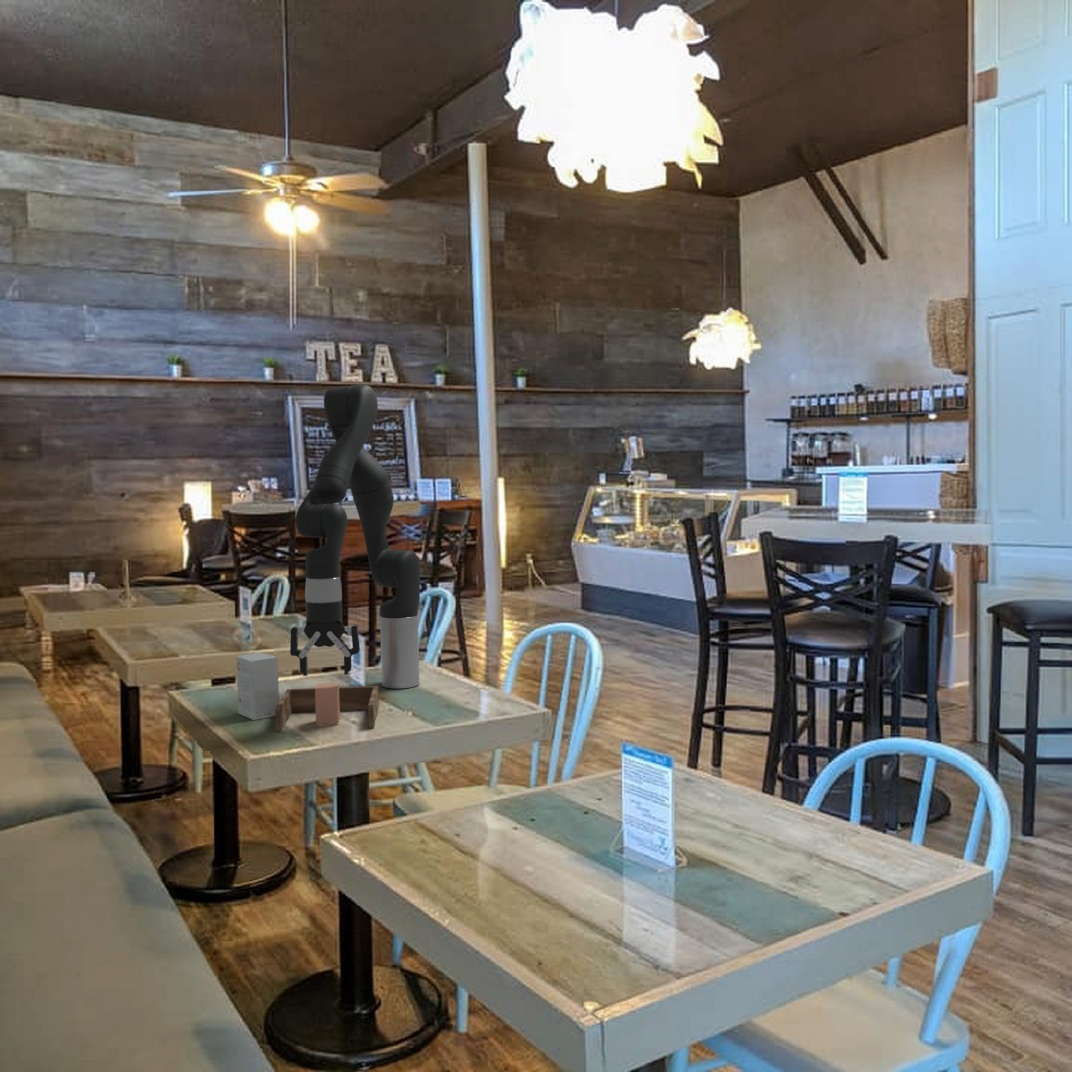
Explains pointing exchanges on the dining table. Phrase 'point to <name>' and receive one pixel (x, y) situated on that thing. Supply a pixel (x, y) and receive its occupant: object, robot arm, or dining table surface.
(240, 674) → the small box
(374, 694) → the u-shaped bracket
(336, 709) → the terracotta block
